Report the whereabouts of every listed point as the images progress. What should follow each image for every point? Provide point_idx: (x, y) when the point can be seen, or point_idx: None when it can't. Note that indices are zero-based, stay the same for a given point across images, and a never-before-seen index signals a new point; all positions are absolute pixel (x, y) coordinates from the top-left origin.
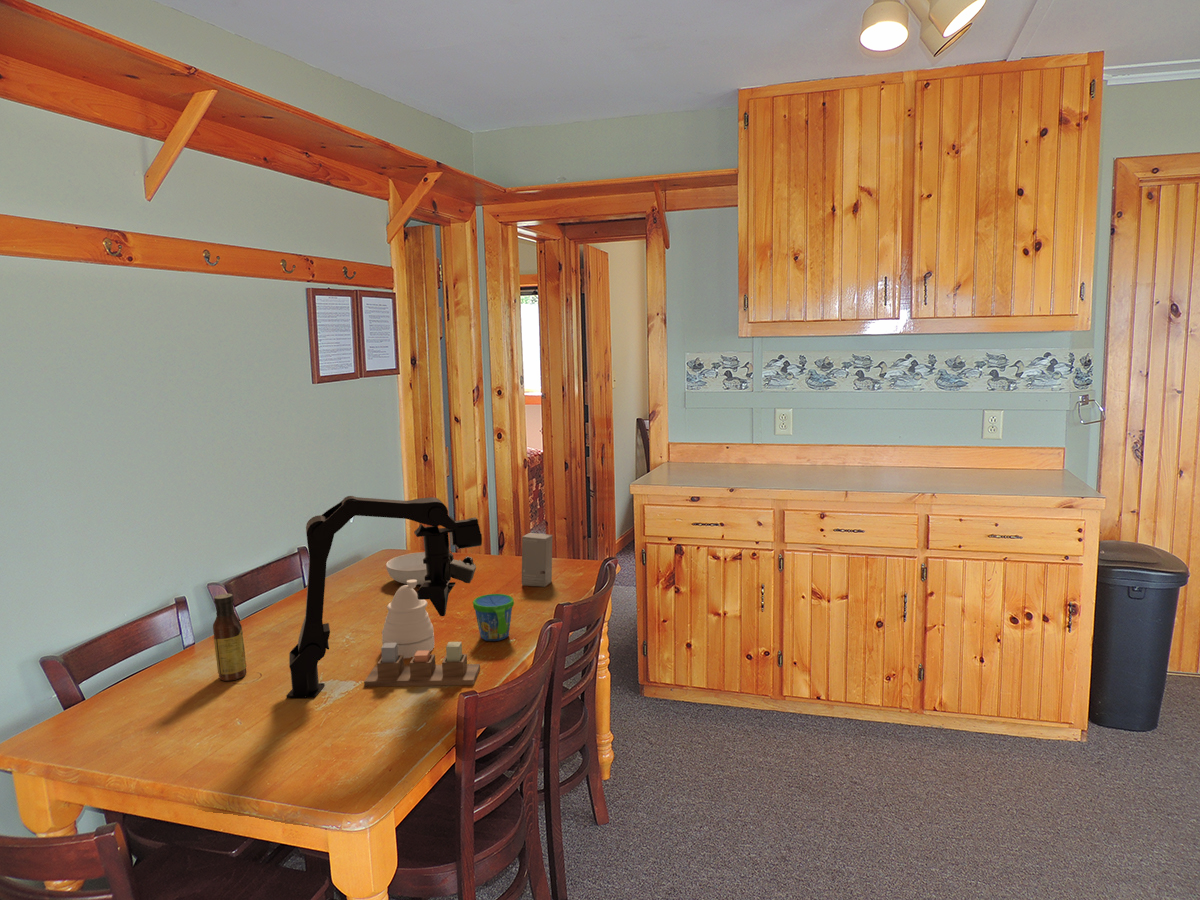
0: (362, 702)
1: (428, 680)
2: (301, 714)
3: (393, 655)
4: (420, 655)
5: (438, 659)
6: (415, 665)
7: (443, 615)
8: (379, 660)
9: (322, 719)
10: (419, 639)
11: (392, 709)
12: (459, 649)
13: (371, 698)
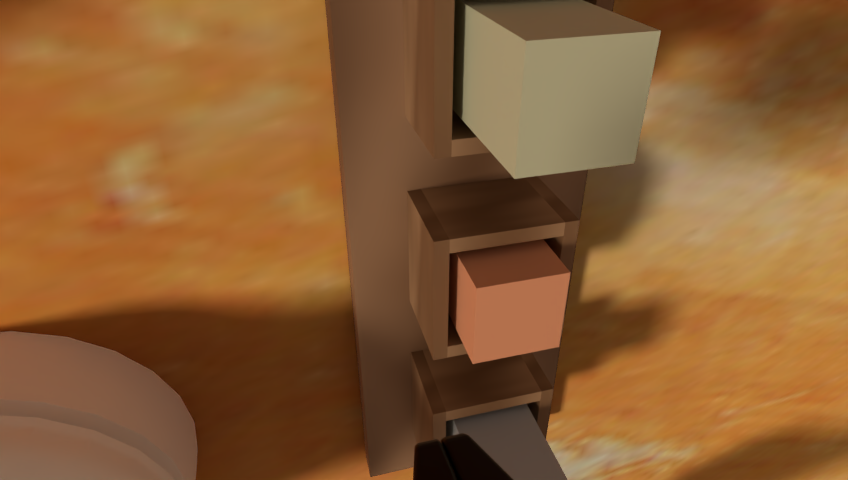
0: (679, 359)
1: (586, 171)
2: (711, 472)
3: (546, 445)
4: (564, 311)
5: (166, 235)
6: None
7: (470, 447)
8: None
9: (766, 408)
10: (106, 447)
11: (779, 229)
12: (623, 23)
13: (652, 346)
